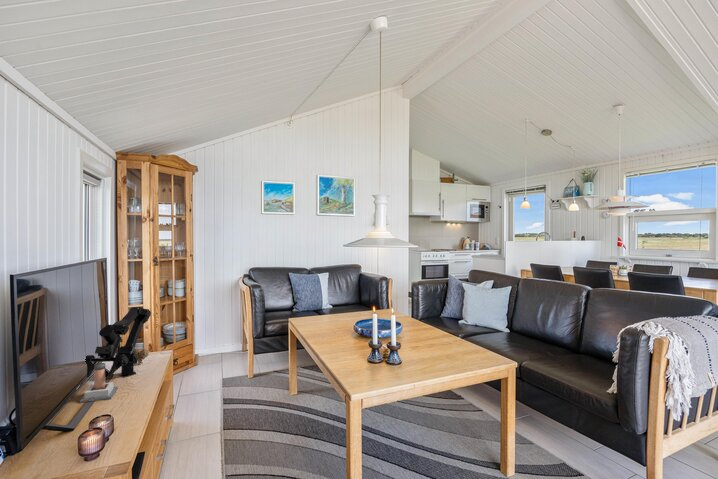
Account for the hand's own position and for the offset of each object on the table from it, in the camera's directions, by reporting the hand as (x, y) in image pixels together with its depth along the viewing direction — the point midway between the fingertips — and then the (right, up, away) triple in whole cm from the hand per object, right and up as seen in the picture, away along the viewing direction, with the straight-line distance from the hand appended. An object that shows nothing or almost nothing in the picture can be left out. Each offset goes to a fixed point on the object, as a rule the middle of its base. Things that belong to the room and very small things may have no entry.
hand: (98, 376), depth 167 cm
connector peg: (0, -9, +2) cm, 9 cm away
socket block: (0, -10, +1) cm, 10 cm away
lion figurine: (-9, -9, +43) cm, 45 cm away
